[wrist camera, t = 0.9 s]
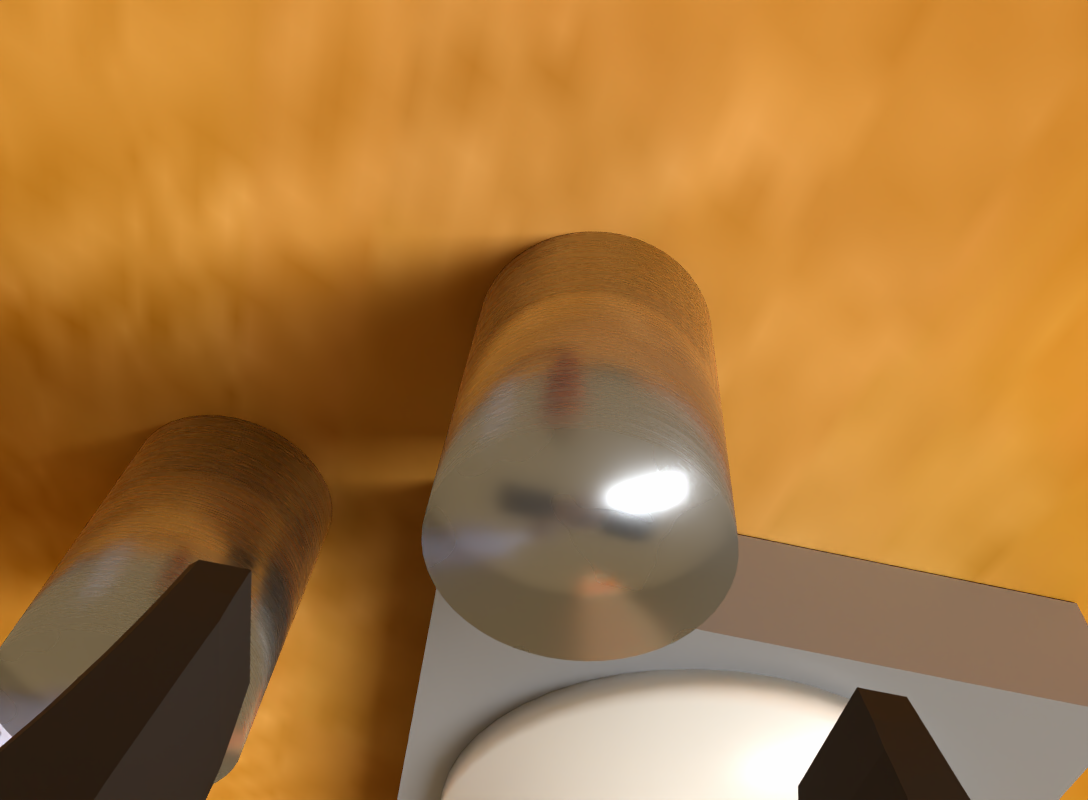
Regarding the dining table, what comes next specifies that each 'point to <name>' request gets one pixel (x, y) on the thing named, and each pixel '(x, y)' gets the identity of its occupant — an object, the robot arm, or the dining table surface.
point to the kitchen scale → (761, 691)
